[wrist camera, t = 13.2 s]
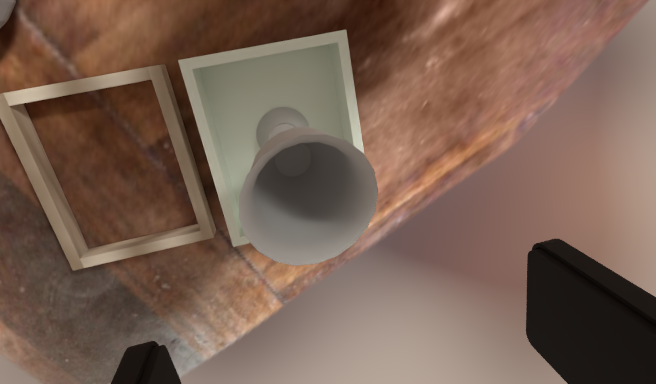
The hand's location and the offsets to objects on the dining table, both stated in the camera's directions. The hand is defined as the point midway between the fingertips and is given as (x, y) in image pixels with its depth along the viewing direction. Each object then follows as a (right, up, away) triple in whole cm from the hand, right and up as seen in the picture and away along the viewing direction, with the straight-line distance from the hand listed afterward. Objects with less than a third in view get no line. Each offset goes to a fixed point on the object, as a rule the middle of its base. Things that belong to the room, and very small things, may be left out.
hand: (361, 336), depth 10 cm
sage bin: (-5, +9, +27) cm, 29 cm away
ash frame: (-20, +6, +26) cm, 33 cm away
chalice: (-5, +9, +27) cm, 29 cm away
